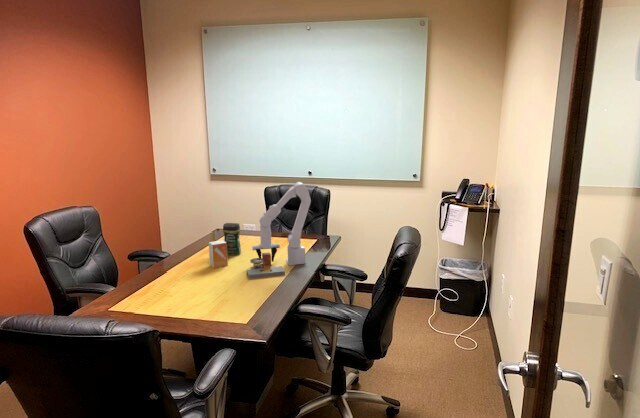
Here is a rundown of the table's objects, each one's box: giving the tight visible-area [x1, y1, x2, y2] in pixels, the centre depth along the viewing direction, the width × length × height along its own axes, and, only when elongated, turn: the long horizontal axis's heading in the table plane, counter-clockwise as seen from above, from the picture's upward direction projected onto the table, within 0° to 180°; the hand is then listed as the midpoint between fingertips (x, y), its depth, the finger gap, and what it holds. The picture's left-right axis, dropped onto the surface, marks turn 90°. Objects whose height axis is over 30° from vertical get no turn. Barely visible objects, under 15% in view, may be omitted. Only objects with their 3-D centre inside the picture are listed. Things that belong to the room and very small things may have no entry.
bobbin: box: [250, 257, 265, 272], centre depth 224 cm, size 7×7×5 cm
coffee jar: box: [222, 222, 242, 256], centre depth 249 cm, size 10×8×19 cm
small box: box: [208, 239, 229, 269], centre depth 229 cm, size 8×6×13 cm
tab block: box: [261, 252, 272, 267], centre depth 231 cm, size 4×4×6 cm
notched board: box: [246, 265, 286, 280], centre depth 216 cm, size 18×8×2 cm, turn 106°
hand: (266, 261), depth 232 cm, fingers open, 6 cm apart
